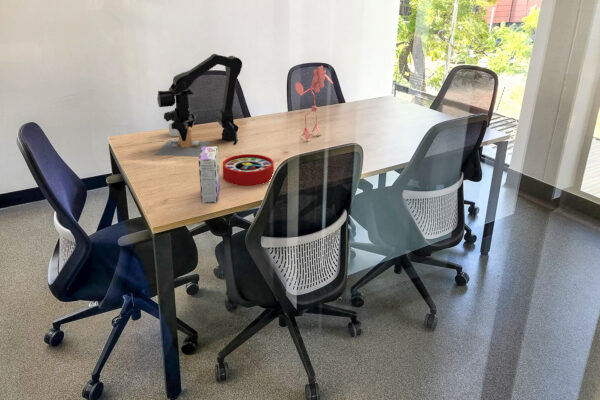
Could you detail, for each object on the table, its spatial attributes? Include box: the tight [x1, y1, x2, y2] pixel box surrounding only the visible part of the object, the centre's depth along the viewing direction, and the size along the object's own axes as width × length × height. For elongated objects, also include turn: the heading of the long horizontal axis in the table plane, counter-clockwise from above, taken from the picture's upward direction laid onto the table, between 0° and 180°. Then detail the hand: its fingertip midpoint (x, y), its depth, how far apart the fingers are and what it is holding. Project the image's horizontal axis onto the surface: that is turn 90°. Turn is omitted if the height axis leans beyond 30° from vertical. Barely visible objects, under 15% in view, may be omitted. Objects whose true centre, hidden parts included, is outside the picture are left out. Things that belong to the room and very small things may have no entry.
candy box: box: [198, 145, 221, 204], centre depth 172 cm, size 14×6×16 cm, turn 5°
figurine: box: [294, 65, 334, 140], centre depth 229 cm, size 15×26×35 cm, turn 146°
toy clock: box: [222, 153, 275, 187], centre depth 191 cm, size 20×6×20 cm
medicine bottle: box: [168, 119, 179, 138], centre depth 233 cm, size 7×7×12 cm
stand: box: [154, 138, 212, 158], centre depth 215 cm, size 20×20×8 cm
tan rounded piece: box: [178, 127, 199, 147], centre depth 218 cm, size 11×6×8 cm, turn 86°
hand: (185, 138), depth 219 cm, fingers closed on tan rounded piece, 6 cm apart
